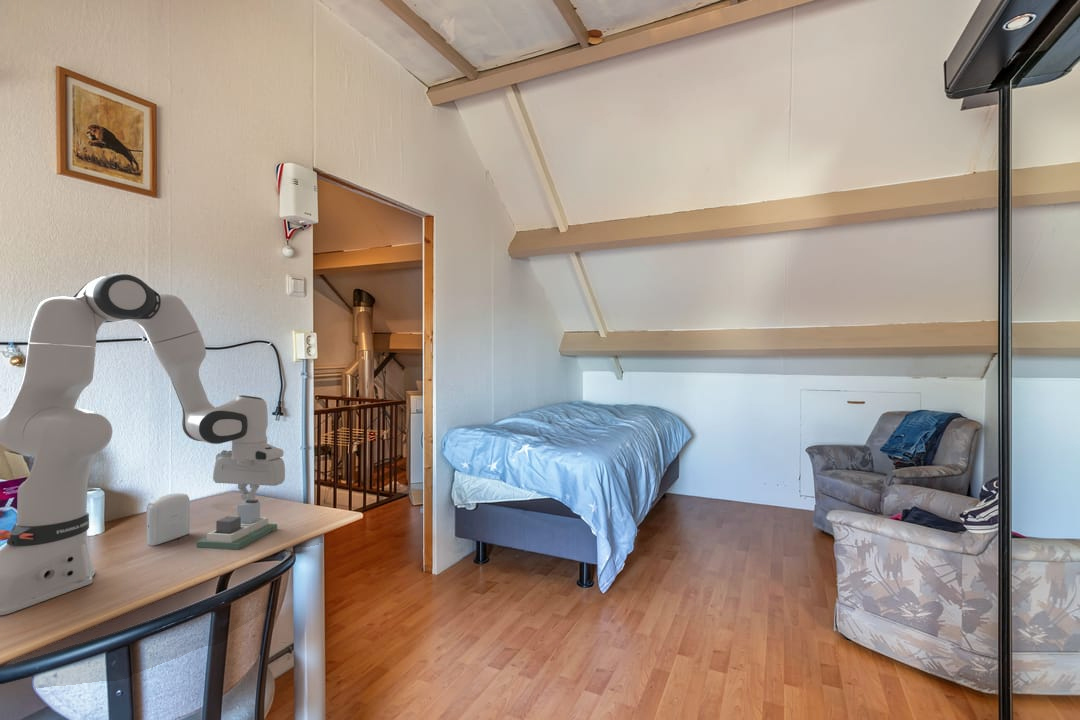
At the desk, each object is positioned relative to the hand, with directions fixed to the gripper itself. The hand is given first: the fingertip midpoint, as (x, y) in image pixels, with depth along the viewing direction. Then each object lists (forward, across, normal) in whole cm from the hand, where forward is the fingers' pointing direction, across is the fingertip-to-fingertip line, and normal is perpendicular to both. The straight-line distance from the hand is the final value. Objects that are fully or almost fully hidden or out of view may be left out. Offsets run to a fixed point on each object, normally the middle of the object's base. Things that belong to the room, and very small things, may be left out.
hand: (248, 499), depth 142 cm
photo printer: (+10, -18, -8) cm, 22 cm away
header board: (+10, 0, -4) cm, 10 cm away
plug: (+8, 0, 0) cm, 8 cm away
